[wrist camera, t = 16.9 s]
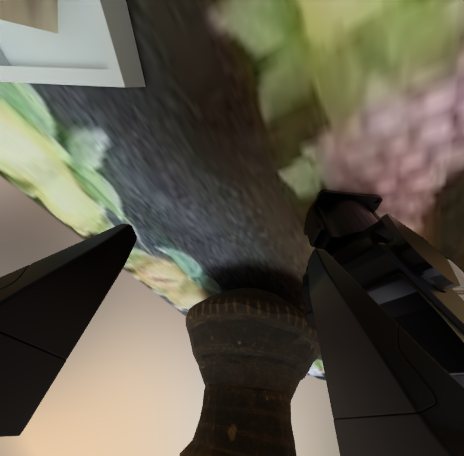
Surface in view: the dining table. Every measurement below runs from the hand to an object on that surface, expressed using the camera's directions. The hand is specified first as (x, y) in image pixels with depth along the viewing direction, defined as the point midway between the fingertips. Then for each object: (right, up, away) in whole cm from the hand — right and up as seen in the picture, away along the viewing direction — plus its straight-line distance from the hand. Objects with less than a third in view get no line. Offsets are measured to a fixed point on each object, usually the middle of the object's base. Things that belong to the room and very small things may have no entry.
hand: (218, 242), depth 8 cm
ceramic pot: (+5, -14, +28) cm, 32 cm away
